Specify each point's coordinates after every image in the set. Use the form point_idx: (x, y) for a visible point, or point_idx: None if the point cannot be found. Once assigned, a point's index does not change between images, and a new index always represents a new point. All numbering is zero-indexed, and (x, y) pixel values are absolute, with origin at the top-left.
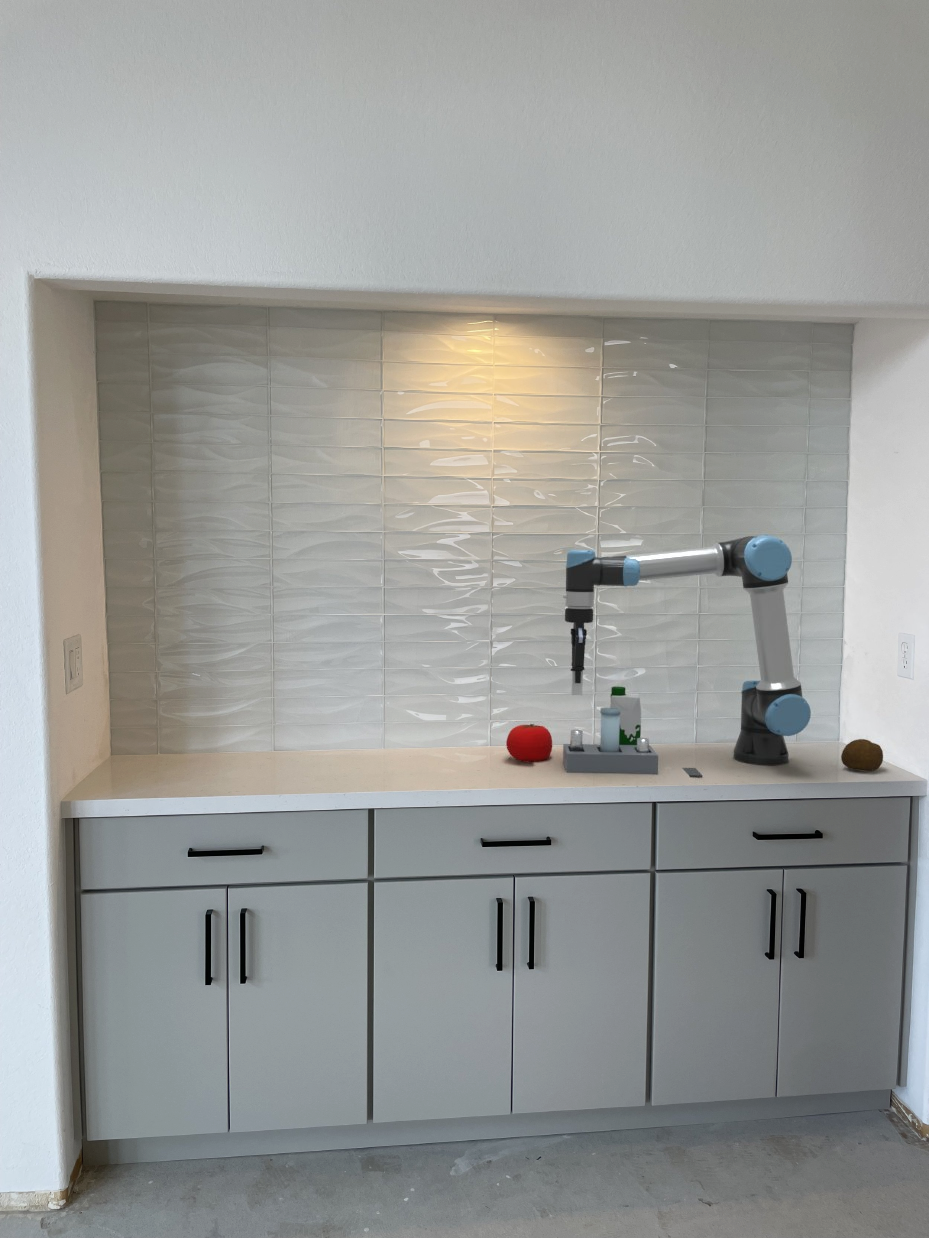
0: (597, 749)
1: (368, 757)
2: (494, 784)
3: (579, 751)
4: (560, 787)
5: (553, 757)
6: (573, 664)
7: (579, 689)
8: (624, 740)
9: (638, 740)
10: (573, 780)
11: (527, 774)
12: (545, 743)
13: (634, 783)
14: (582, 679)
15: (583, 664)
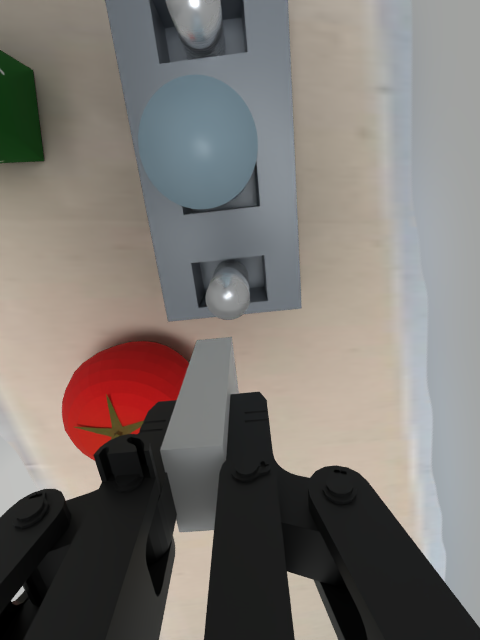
0: (223, 212)
1: (204, 620)
2: (376, 431)
3: (245, 271)
4: (398, 302)
5: (101, 326)
6: (167, 593)
7: (232, 370)
8: (8, 99)
9: (209, 25)
10: (331, 273)
11: (286, 376)
12: (178, 370)
13: (351, 96)
14: (225, 393)
15: (407, 536)
